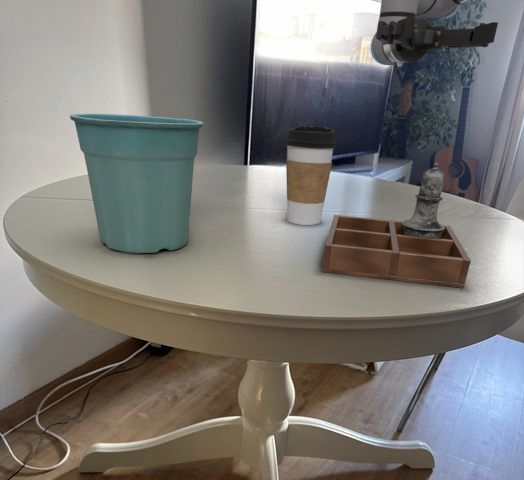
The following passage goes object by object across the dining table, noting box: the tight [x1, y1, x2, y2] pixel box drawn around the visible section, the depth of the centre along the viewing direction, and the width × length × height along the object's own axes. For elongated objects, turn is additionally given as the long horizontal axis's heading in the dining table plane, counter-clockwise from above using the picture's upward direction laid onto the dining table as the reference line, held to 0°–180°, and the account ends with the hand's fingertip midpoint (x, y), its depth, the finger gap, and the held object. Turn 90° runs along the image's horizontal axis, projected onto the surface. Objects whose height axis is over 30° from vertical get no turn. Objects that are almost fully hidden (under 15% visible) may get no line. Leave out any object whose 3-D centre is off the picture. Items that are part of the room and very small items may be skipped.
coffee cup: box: [284, 125, 337, 226], centre depth 81 cm, size 8×8×15 cm
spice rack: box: [321, 214, 472, 289], centre depth 66 cm, size 17×17×4 cm
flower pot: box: [69, 113, 204, 254], centre depth 65 cm, size 16×16×16 cm
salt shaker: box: [402, 161, 445, 238], centre depth 67 cm, size 6×6×12 cm
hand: (452, 29), depth 76 cm, fingers open, 13 cm apart
